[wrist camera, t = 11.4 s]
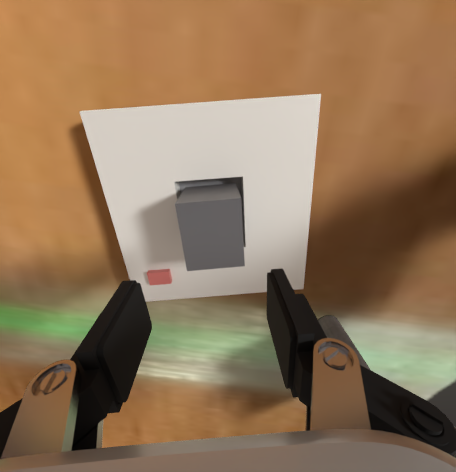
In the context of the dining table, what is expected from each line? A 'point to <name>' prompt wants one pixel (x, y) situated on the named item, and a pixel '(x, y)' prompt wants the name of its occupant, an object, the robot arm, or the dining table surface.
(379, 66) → the dining table surface
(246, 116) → the socket
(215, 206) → the plug
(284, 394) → the dining table surface
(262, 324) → the dining table surface
